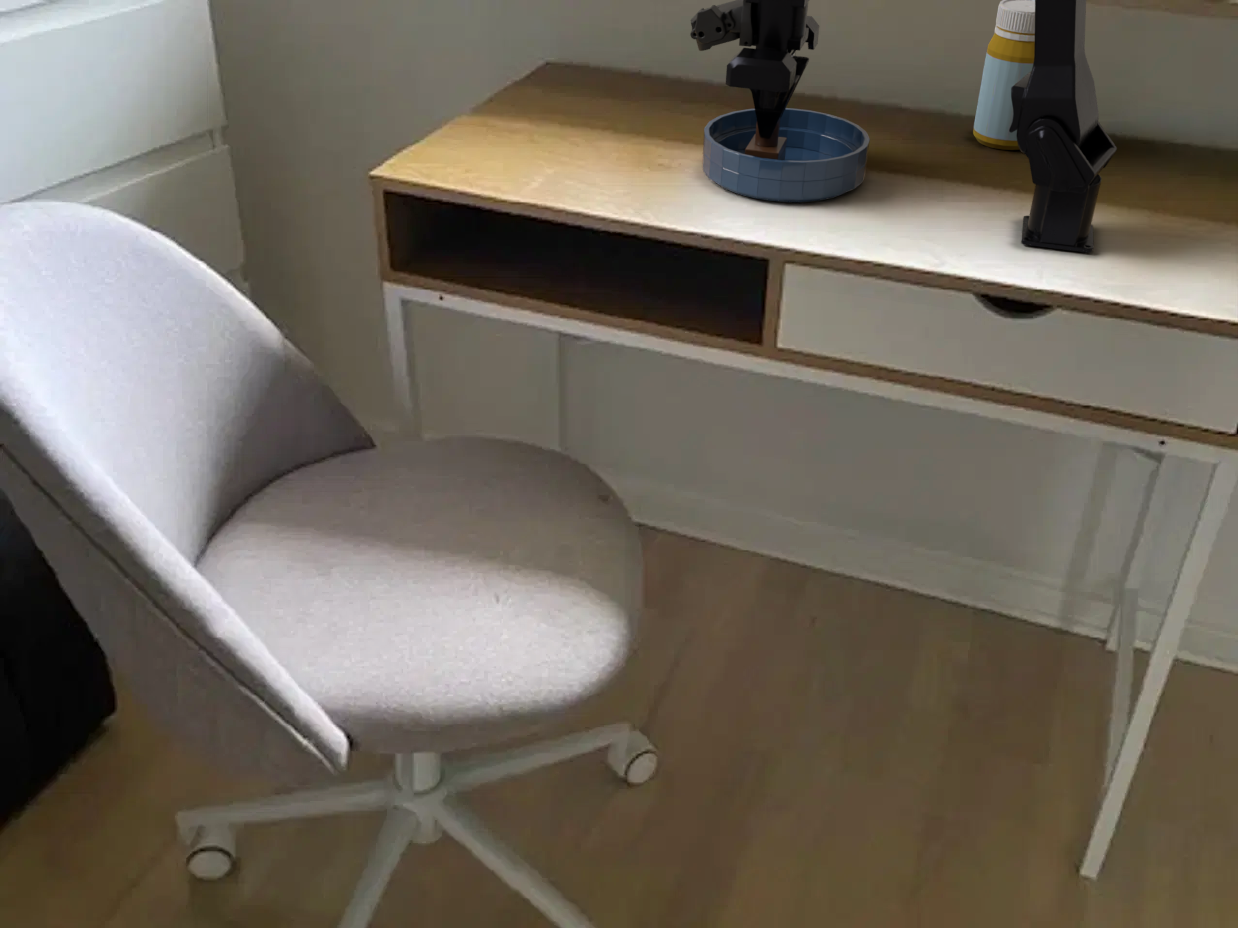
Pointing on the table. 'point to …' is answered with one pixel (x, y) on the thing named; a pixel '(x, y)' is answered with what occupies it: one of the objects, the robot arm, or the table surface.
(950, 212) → the table surface
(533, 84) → the table surface
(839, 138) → the bowl
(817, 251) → the table surface
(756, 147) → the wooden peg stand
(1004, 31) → the bottle
